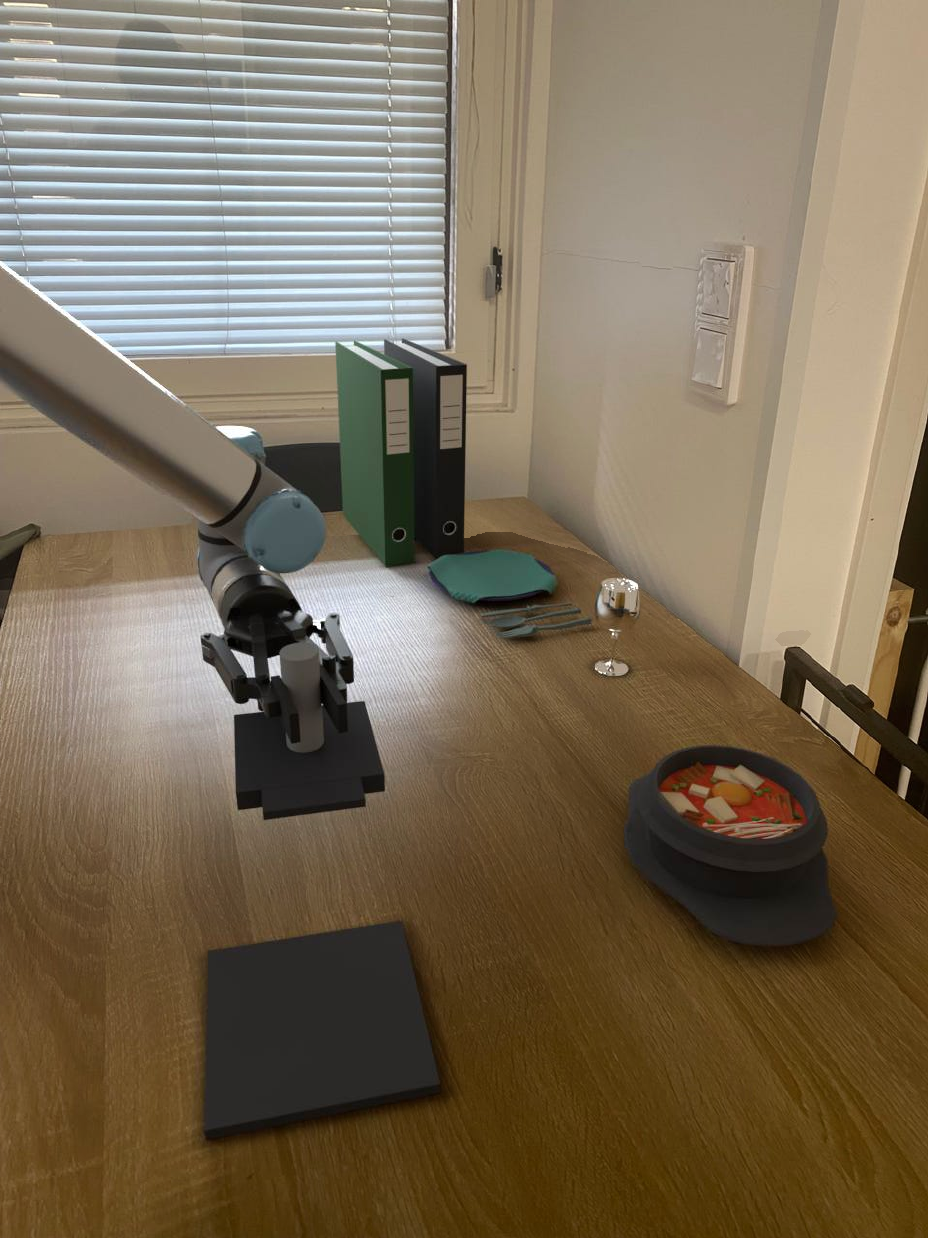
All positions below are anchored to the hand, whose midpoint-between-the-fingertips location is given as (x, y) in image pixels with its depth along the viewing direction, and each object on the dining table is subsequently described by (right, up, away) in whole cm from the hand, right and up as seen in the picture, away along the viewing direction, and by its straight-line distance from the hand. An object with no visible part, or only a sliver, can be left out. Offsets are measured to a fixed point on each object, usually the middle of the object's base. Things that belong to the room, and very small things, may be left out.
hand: (319, 723), depth 72 cm
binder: (0, +24, +92) cm, 95 cm away
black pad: (0, -22, -3) cm, 23 cm away
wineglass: (+31, +2, +48) cm, 57 cm away
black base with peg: (-2, -5, +6) cm, 8 cm away
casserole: (+36, -15, +14) cm, 41 cm away
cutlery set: (+18, +12, +68) cm, 71 cm away
